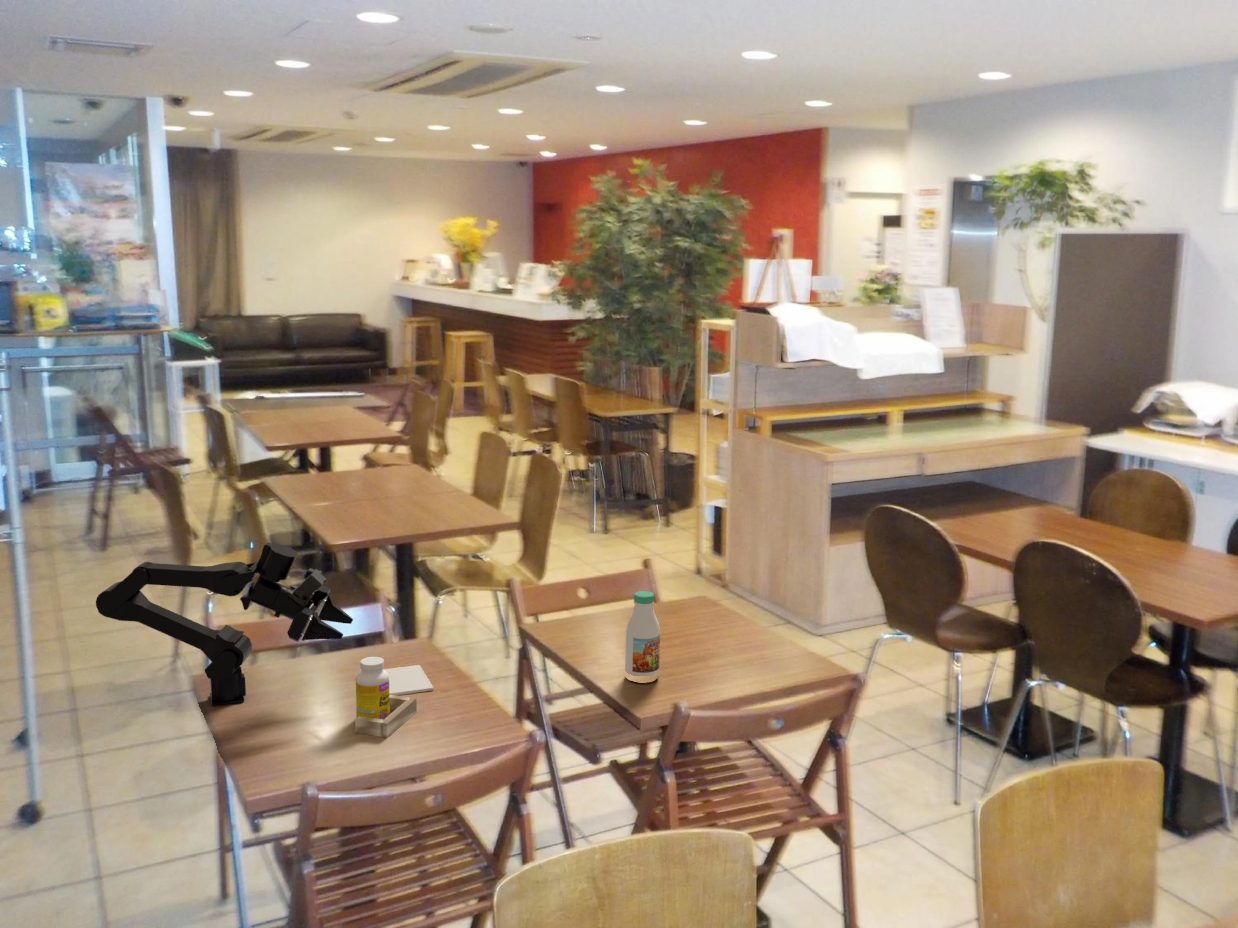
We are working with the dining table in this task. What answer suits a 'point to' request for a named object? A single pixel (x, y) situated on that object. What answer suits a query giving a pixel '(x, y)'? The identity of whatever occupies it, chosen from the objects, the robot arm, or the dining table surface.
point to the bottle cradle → (388, 718)
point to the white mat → (408, 680)
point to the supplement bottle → (372, 689)
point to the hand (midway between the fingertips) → (347, 628)
